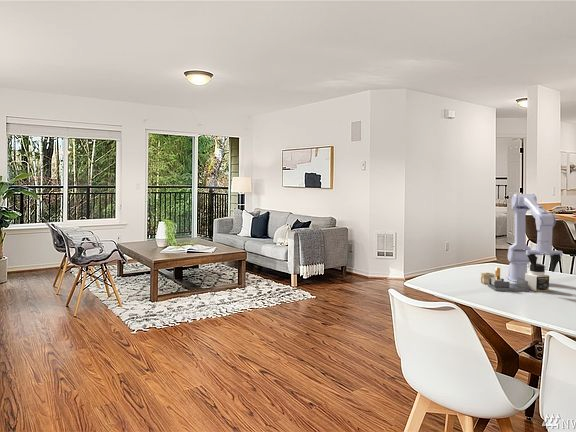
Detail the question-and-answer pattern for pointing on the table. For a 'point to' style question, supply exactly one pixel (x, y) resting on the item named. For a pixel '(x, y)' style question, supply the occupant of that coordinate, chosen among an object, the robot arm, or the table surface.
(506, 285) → the press frame
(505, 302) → the table surface
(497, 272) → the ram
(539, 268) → the medicine bottle
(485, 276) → the light wooden block
